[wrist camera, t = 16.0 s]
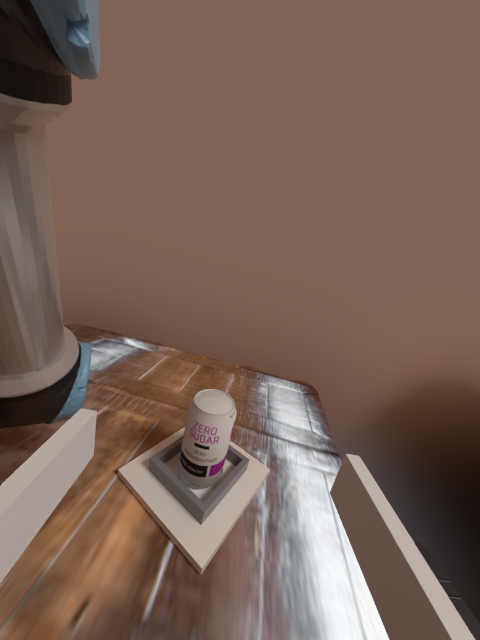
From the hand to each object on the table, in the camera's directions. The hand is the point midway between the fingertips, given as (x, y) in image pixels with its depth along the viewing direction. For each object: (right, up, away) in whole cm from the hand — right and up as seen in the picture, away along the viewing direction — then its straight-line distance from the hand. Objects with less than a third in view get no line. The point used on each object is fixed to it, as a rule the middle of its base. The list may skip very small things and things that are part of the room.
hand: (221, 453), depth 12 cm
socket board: (-7, -22, +31) cm, 39 cm away
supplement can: (-7, -21, +31) cm, 38 cm away
